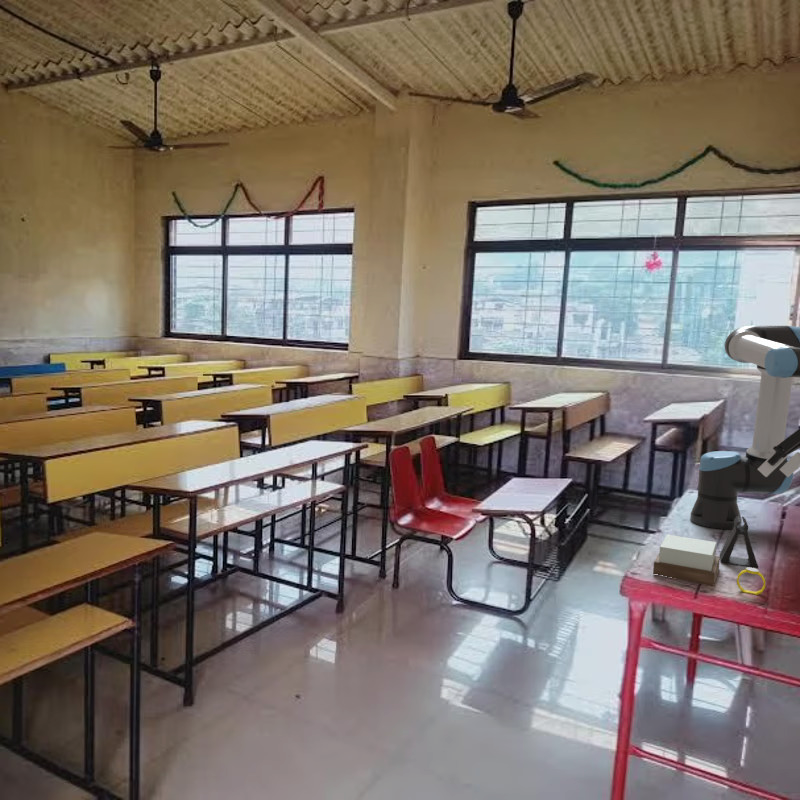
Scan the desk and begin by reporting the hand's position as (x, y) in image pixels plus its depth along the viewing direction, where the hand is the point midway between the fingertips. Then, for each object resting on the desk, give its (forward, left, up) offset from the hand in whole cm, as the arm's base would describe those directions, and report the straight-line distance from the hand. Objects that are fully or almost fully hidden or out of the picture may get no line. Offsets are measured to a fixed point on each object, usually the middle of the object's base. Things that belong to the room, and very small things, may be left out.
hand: (773, 473), depth 169 cm
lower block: (+14, -17, -26) cm, 34 cm away
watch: (+20, -3, -26) cm, 33 cm away
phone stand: (-2, -6, -26) cm, 27 cm away
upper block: (+14, -17, -22) cm, 32 cm away
